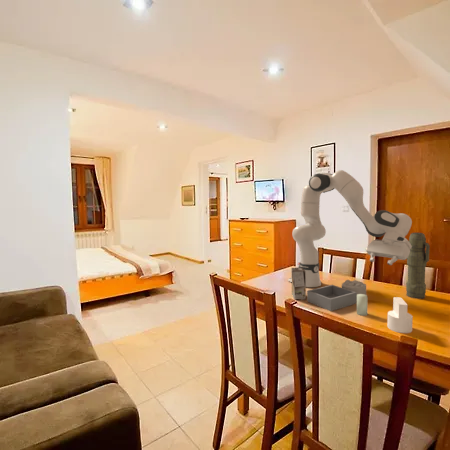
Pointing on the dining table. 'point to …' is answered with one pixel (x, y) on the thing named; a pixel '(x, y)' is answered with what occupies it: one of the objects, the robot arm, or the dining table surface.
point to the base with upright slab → (399, 317)
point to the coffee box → (298, 283)
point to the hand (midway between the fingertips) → (380, 262)
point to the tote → (331, 297)
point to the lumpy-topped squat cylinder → (355, 286)
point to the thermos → (417, 266)
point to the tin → (362, 304)
